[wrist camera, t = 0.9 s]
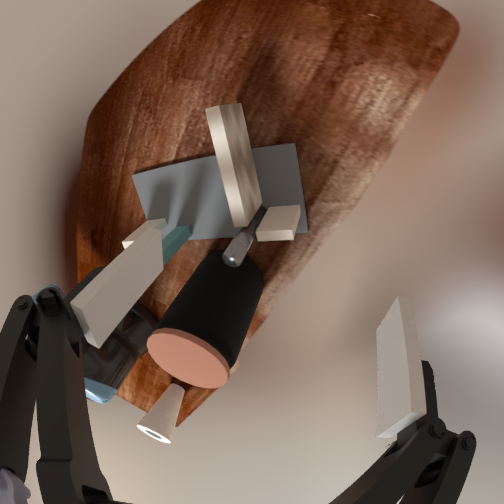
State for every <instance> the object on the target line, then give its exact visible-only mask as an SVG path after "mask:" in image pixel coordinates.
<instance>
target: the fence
mask: <svg viewBox="0 0 504 504" xmlns="http://www.w3.org/2000/svg"><path fill="white" fill-rule="evenodd" d="M300 214H301V212H300V205H289V206H276V207H269V208H268V210H267V212H266V214H265V216H264V217H263V219H262V221H261V223H260V225H259V227H258V228H257V230H256V235H257V240H258V241H276V240H294V236H295V232H296V229H297V225H298V222H299V218H300ZM166 226H167V222H166V219H165V218H162V219H155V220H148V221H146V222H145V223H144V224H142V225H141V226H140V227H139V228H137V229H136V230H135V231H134V232H133V233H131V234H130V235H129V236H128V237H127V238H126V239H124V240H123V241H122V244H123V246H124V249H126V248H127V247H128V246H129V245H130V244H131V243H133V242H134V241H135V240H136V239H137V238H138V237H139V236H141V235H142V234H143V233H144V232H145V231H146V230H147V229H149V228H154V229H158V230H161V231H162V230H163V229H164V228H165V227H166Z"/></svg>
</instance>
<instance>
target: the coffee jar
mask: <svg viewBox="0 0 504 504" xmlns="http://www.w3.org/2000/svg"><path fill="white" fill-rule="evenodd" d="M224 252H225V251H217V252H214V253H211V254H209V255H208V256H207V257H205V258H204V259H203V260H202V262H201V263H200V264H199V266H198V267H197V269H196V270H195V271H194V273H193V274H192V276H191V277H190V278H189V280H188V281H187V282H186V284H185V285H184V287H183V288H182V289H181V291H180V292H179V294H178V295H177V297H176V298H175V299H174V301H173V302H172V304H171V305H170V306H169V308H168V309H167V311H166V312H165V314H164V315H163V316H162V318H161V319H160V321H159V322H158V325H157V329H156V330H155V331H154V332H153V333H152V334H151V335H150V336H149V337H148V341H147V348H148V351H149V353H150V355H151V356H152V358H153V359H154V361H155V362H156V363H157V364H158V365H159V366H160V367H161V368H162V369H164V370H165V371H166V372H168V373H169V374H171V375H172V376H174V377H176V378H177V379H179V380H181V381H183V382H186V383H188V384H191V385H194V386H198V387H203V388H217V387H221V386H223V385H224V384H225V383H226V382H227V381H228V379H229V374H230V369H231V368H232V367H233V365H234V364H235V362H236V359H237V357H238V354H239V352H240V349H241V347H242V344H243V341H244V339H245V336H246V334H247V331H248V329H249V326H250V323H251V321H252V318H253V315H254V313H255V310H256V307H257V305H258V302H259V300H260V297H261V294H262V291H263V285H264V284H263V279H262V275H261V273H260V271H259V269H258V268H257V266H256V264H255V263H254V262H253V261H251V260H250V259H249V258H248V257H247V256H245V257H244V259H243V261H242V263H241V264H240V265H239V266H238V267H231V266H228V265H227V264H226V263H225V262H224V261H223V253H224Z"/></svg>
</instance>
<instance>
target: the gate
mask: <svg viewBox="0 0 504 504" xmlns="http://www.w3.org/2000/svg"><path fill="white" fill-rule="evenodd" d="M205 111H206V115H207V120H208V124H209V128H210V132H211V136H212V140H213V144H214V148H215V152H216V156H217V160H218V164H219V168H220V172H221V176H222V180H223V184H224V188H225V192H226V196H227V200H228V204H229V208H230V212H231V216H232V220H233V224H234V227H246V226H248V224H249V223H250V221H251V220H252V218H253V216H254V215H255V213H256V212H257V210H258V209H259V207H260V205H261V204H262V198H261V193H260V188H259V183H258V178H257V173H256V169H255V164H254V159H253V155H252V150H251V145H250V141H249V136H248V131H247V127H246V122H245V118H244V113H243V109H242V104H241V103H236V104H227V105H219V106H215V107H211V108H207V109H205Z"/></svg>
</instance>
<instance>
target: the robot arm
mask: <svg viewBox="0 0 504 504" xmlns="http://www.w3.org/2000/svg"><path fill="white" fill-rule="evenodd" d="M163 269H164V268H163V254H162V237H161V230H158V229H154V228H149V229H147V230H146V231H145V232H144V233H143V234H142V235H141V236H139V237H138V238H137V239H136V240H135V241H134V242H133V243H131V244H130V245H129V246H128V247H127V248H126V249H125V250H124V251H123V252H122V253H120V254H119V255H118V256H117V257H116V258H115V259H114V260H113V261H112V262H111V263H110V264H109V265H108V266H106V267H105V268H104V267H102V266H100V267H98V268H96V269H94V270H92V271H91V272H90V273H89V274H88V275H87V276H86V278H84V279H83V280H82V281H81V282H80V283H79V284H78V285H77V286H76V287H75V288H74V289H73V290H72V291H71V292H70V293H69V294H68V295H67V296H66V295H65V294H64V293H63V292H62V290H61V289H60V288H59V287H58V286H57V285H54V284H51V285H48V286H46V287H45V288H43V289H42V290H40V291H39V292H37V293H36V294H34V295H33V296H32V297H31V296H29V295H22V296H20V297H19V298H18V299H16V300H15V302H14V303H13V305H12V308H11V310H10V312H9V314H8V316H7V318H6V321H5V323H4V325H3V328H2V330H1V333H0V504H28V503H27V499H28V498H30V496H31V494H30V490H29V489H28V488H27V487H26V486H25V485H24V482H25V479H26V474H27V468H28V456H29V445H30V435H31V427H32V420H33V413H34V406H35V402H36V403H37V421H38V433H39V442H40V450H41V458H40V459H39V460H38V461H37V463H36V472H37V477H38V482H39V486H40V491H41V495H42V499H43V503H44V504H131V503H125V502H118V501H113V498H112V495H111V492H110V489H109V486H108V483H107V481H106V479H105V477H104V476H103V474H102V473H101V470H100V468H99V464H98V460H97V456H96V451H95V447H94V442H93V437H92V432H91V426H90V420H89V414H88V408H87V400H86V397H88V398H90V399H91V400H93V401H96V402H98V403H102V404H106V403H108V402H110V400H111V399H112V398H113V396H114V395H115V394H116V393H117V392H118V389H119V388H120V386H121V385H122V383H123V381H124V380H125V378H126V377H127V375H128V373H129V372H130V370H131V369H132V367H133V366H134V364H135V362H136V361H137V359H138V358H139V357H140V356H142V355H143V354H145V353H146V352H147V351H148V348H147V341H148V337H149V336H150V335H151V334H152V333H153V332H154V331H155V330H156V329H157V325H158V322H157V321H156V319H155V318H154V317H153V315H152V314H151V313H150V312H149V311H148V310H147V309H146V308H144V307H143V306H142V305H141V304H139V303H138V302H137V300H138V299H139V298H140V297H141V295H142V294H143V293H144V292H145V291H146V289H147V288H148V287H149V286H150V285H151V284H152V282H153V281H154V280H155V279H156V278H157V276H158V275H159V274H160V273H161V272H162V271H163ZM376 333H377V355H378V356H377V357H378V407H377V429H376V437H382V438H391V437H393V436H394V435H396V434H397V440H396V441H395V442H393V443H391V444H389V445H388V446H386V447H385V448H386V449H387V448H388V449H387V450H386V452H385V453H384V454H383V455H382V456H381V457H380V458H379V459H378V460H377V461H376V462H375V463H374V464H373V465H372V466H371V467H370V468H369V469H368V470H367V471H366V472H365V473H364V474H363V475H362V476H361V477H360V478H358V479H357V480H356V481H355V482H354V483H353V484H352V485H351V486H350V487H348V488H347V489H346V490H345V491H344V492H343V493H341V494H340V495H339V496H338V497H337V498H335V499H334V500H333V501H332V502H330V503H329V504H396V503H397V502H398V501H399V500H400V498H401V497H402V496H403V495H404V496H403V498H402V500H401V501H400V503H399V504H456V503H457V500H458V498H459V495H460V493H461V491H462V488H463V485H464V483H465V480H466V477H467V474H468V472H469V469H470V466H471V462H472V459H473V456H474V453H475V449H476V438H475V436H474V434H473V433H472V432H470V431H463V432H462V433H461V434H459V435H458V434H456V433H453V432H451V431H449V430H447V429H446V426H445V423H444V422H443V421H442V420H441V419H440V418H438V410H437V399H436V390H435V383H434V375H433V370H432V368H431V366H430V364H429V362H428V361H423V360H421V356H420V350H419V343H418V338H417V332H416V328H415V322H414V317H413V313H412V308H411V303H410V300H409V299H407V298H403V297H399V296H398V297H397V298H396V300H395V301H394V303H393V305H392V307H391V308H390V310H389V311H388V313H387V315H386V316H385V318H384V319H383V321H382V323H381V324H380V326H379V327H378V329H377V330H376Z"/></svg>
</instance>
